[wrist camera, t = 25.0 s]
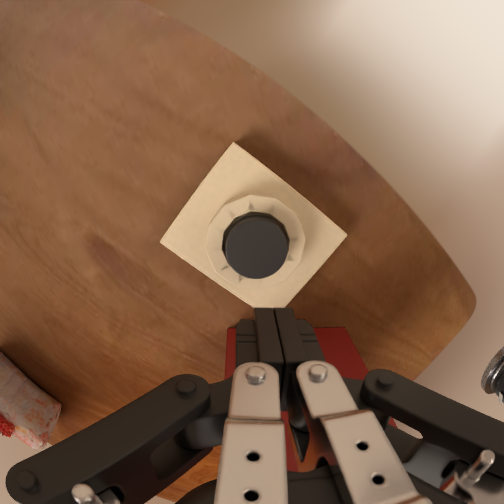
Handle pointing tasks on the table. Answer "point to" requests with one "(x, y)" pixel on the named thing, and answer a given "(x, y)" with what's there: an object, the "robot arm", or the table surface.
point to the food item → (25, 407)
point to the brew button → (256, 247)
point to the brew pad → (246, 204)
